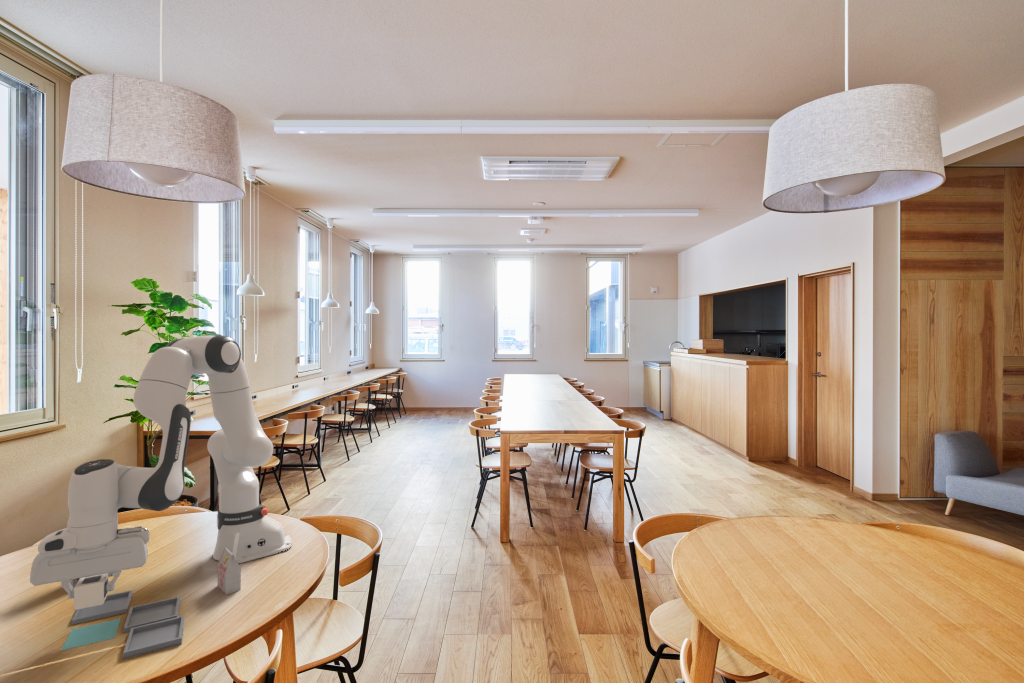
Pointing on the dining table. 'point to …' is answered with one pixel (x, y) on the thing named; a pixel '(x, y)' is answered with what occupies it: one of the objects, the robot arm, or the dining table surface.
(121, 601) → the dish
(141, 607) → the dish
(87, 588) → the white cube
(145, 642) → the dish
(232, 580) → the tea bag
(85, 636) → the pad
